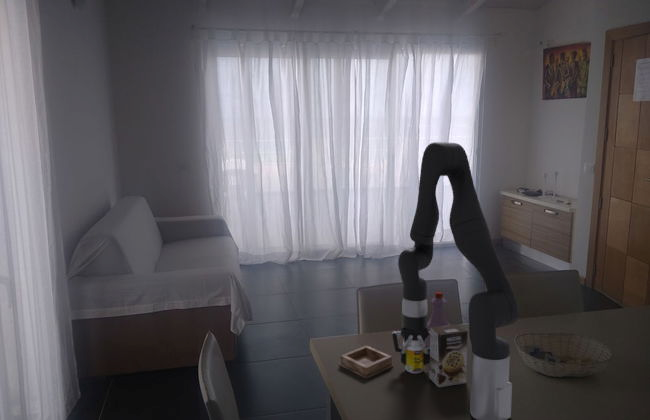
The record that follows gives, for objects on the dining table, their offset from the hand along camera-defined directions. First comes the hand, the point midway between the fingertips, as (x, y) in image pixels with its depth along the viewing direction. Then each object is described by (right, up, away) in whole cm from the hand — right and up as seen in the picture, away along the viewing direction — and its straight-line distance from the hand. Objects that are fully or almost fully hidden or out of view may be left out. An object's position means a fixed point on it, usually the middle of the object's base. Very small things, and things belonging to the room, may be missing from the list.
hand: (414, 363), depth 158 cm
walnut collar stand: (-15, -2, +4) cm, 15 cm away
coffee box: (+9, -3, -7) cm, 11 cm away
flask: (+10, 0, +14) cm, 18 cm away
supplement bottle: (0, -2, 0) cm, 2 cm away
